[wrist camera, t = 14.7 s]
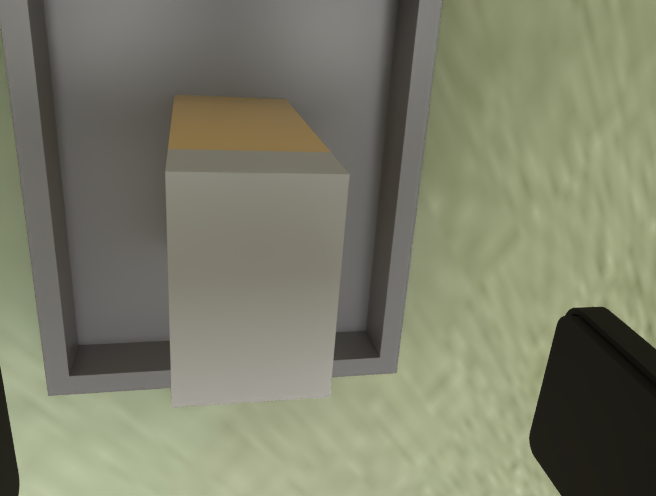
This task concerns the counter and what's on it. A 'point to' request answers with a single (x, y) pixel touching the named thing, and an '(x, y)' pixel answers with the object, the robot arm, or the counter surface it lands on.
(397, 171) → the parts tray
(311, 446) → the counter surface
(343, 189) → the block
